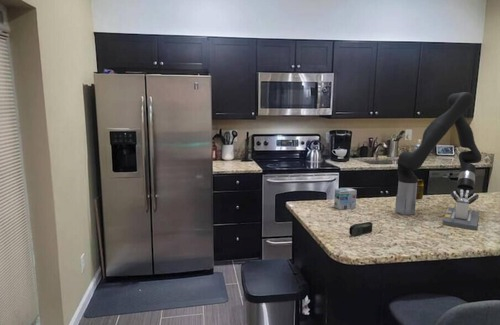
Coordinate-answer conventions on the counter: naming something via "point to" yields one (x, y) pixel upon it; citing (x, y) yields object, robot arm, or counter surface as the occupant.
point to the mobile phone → (360, 229)
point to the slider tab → (462, 208)
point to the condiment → (419, 190)
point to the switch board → (462, 223)
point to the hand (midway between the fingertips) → (462, 209)
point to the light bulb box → (345, 198)
